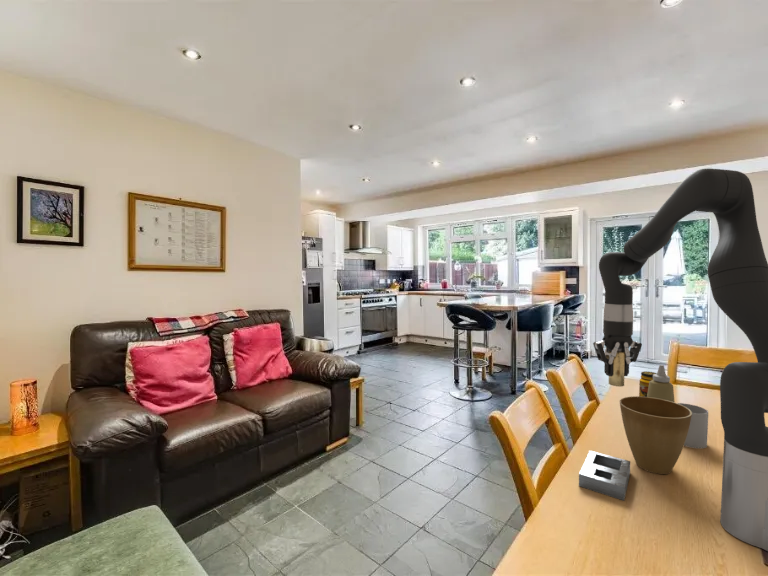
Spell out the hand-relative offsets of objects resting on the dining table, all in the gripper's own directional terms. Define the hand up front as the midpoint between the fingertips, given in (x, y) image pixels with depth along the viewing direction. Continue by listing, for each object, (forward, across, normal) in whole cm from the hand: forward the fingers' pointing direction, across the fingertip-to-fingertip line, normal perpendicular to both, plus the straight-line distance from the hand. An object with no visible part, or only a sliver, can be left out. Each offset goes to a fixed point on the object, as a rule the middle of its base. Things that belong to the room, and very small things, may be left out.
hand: (616, 375), depth 111 cm
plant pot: (+19, -2, -17) cm, 26 cm away
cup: (+19, +19, -4) cm, 28 cm away
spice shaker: (+3, 0, 0) cm, 3 cm away
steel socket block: (+19, -17, -22) cm, 34 cm away
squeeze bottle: (+19, +25, +14) cm, 34 cm away
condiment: (+19, +30, +26) cm, 44 cm away
